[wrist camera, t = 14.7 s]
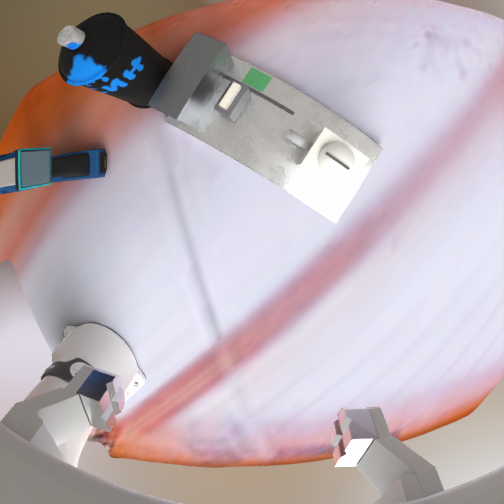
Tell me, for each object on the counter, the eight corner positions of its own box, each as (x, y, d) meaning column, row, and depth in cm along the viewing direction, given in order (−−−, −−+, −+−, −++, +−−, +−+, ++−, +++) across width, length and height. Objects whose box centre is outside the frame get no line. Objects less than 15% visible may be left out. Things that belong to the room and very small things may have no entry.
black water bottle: (122, 67, 33) (35, 23, 14) (173, 49, 32) (106, -19, 13) (127, 115, 35) (31, 93, 16) (180, 99, 34) (105, 51, 15)
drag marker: (251, 96, 32) (247, 83, 26) (234, 122, 33) (227, 114, 28) (237, 89, 32) (231, 75, 26) (220, 115, 33) (211, 106, 27)
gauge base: (379, 149, 35) (406, 146, 27) (332, 221, 38) (349, 236, 30) (214, 50, 32) (201, 25, 24) (168, 122, 35) (142, 112, 27)
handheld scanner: (120, 178, 38) (23, 191, 19) (44, 185, 39) (-45, 203, 20) (120, 147, 37) (23, 141, 18) (44, 158, 38) (-46, 166, 19)
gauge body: (356, 159, 34) (371, 158, 28) (336, 191, 35) (348, 196, 30) (297, 118, 33) (302, 110, 27) (275, 151, 34) (277, 148, 29)
